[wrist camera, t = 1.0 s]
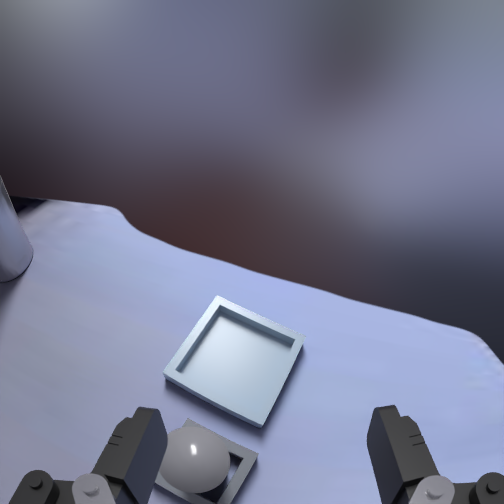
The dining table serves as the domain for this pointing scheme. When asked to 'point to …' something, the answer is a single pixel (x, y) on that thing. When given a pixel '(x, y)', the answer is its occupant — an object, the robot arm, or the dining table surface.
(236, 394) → the parts tray
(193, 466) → the grey capped cylinder
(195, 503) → the socket block
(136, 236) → the dining table surface
